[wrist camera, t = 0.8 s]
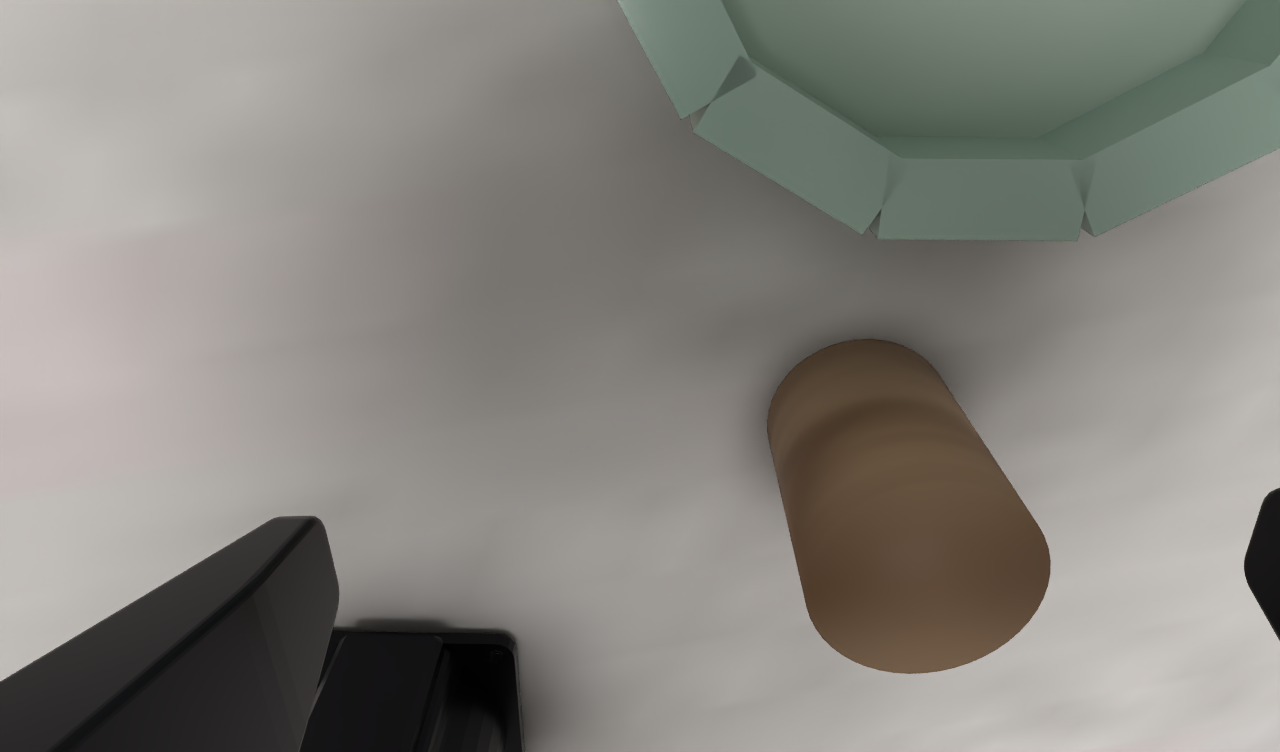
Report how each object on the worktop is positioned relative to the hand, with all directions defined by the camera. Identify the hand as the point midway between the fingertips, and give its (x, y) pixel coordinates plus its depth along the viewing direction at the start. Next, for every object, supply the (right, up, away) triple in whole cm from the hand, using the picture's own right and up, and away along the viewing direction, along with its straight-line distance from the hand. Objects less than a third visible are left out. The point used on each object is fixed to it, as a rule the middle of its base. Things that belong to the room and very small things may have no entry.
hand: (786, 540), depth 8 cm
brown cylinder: (+4, 0, +13) cm, 13 cm away
